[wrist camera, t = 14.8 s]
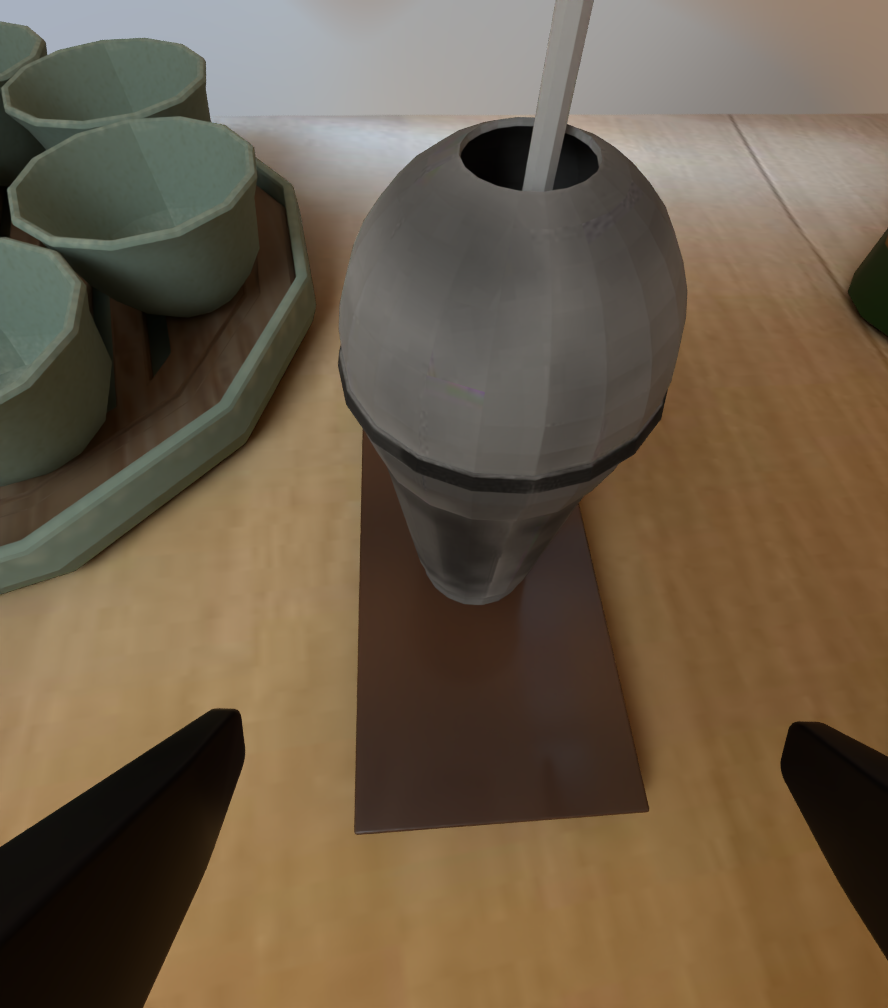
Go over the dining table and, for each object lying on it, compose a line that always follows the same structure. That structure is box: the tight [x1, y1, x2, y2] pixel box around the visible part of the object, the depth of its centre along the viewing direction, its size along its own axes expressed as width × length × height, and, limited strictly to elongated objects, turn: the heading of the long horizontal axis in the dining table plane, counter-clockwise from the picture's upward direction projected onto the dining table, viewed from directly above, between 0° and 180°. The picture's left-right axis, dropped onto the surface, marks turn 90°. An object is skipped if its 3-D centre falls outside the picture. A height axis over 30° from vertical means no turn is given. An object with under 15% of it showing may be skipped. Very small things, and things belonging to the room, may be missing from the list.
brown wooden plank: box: [354, 429, 649, 835], centre depth 21 cm, size 20×10×2 cm, turn 4°
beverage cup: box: [338, 0, 687, 605], centre depth 12 cm, size 7×7×20 cm
